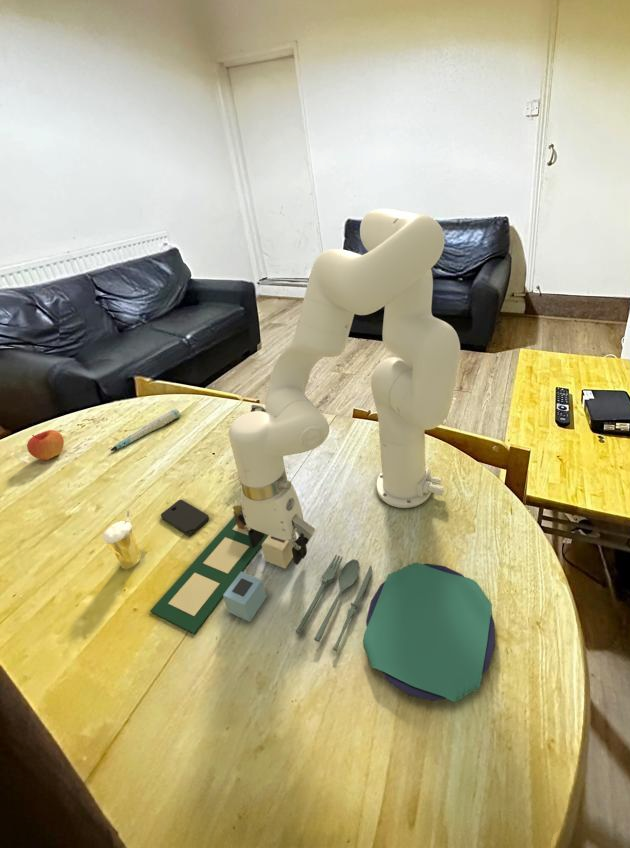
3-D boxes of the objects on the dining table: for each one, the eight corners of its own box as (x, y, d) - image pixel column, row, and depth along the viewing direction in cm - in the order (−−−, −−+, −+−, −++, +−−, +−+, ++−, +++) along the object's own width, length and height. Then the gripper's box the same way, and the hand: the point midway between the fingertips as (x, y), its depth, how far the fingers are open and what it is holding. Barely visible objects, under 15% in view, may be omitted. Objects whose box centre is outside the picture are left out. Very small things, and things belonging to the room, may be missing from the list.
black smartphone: (188, 533, 83) (159, 515, 88) (189, 536, 83) (160, 517, 88) (209, 515, 87) (180, 498, 92) (210, 518, 87) (181, 501, 92)
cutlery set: (483, 734, 53) (484, 725, 52) (286, 648, 64) (284, 639, 63) (502, 591, 70) (503, 582, 69) (343, 541, 80) (342, 533, 79)
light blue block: (266, 596, 71) (262, 579, 69) (249, 622, 68) (244, 604, 66) (246, 588, 73) (240, 570, 71) (228, 612, 69) (222, 594, 67)
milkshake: (153, 550, 81) (137, 513, 77) (130, 575, 76) (112, 537, 72) (135, 544, 82) (119, 508, 78) (112, 568, 78) (93, 531, 74)
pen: (176, 414, 124) (173, 406, 123) (182, 417, 122) (179, 409, 121) (108, 451, 110) (104, 442, 109) (114, 455, 108) (110, 446, 107)
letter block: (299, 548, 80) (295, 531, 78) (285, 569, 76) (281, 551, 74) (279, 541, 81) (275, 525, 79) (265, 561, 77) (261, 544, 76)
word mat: (287, 511, 88) (287, 510, 88) (194, 634, 66) (193, 632, 66) (250, 499, 92) (250, 498, 91) (150, 612, 70) (149, 610, 70)
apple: (73, 452, 110) (62, 428, 107) (41, 469, 105) (28, 444, 101) (61, 443, 114) (50, 420, 111) (30, 460, 108) (17, 435, 105)
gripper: (318, 477, 70) (329, 547, 78) (239, 454, 77) (255, 521, 84) (294, 510, 64) (307, 583, 71) (209, 482, 71) (229, 551, 78)
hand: (279, 549), depth 78 cm, fingers open, 9 cm apart
